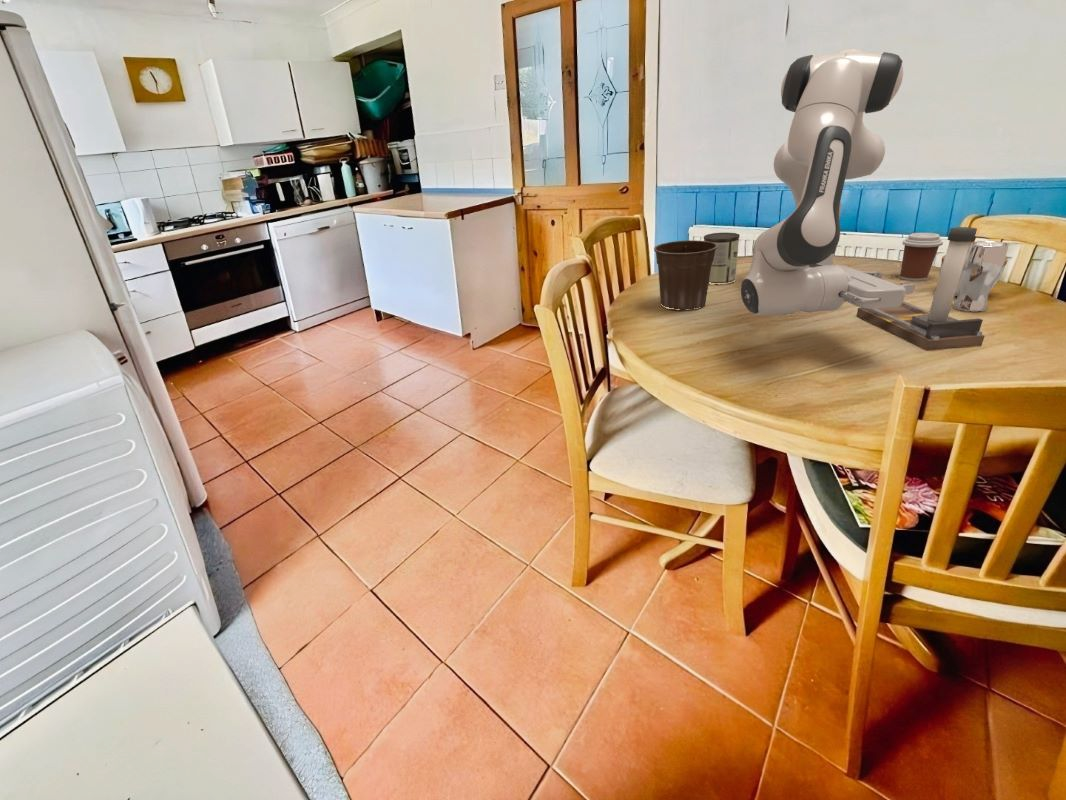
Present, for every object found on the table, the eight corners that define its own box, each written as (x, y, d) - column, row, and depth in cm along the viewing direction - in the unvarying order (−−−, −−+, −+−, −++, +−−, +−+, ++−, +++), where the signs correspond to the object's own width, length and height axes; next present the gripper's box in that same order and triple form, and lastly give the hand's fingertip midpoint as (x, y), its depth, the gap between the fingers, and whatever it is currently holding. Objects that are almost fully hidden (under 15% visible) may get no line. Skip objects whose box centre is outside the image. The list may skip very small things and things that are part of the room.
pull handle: (910, 324, 108) (936, 228, 99) (938, 321, 108) (966, 225, 99) (931, 333, 102) (960, 232, 93) (960, 330, 102) (992, 229, 93)
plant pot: (689, 317, 131) (693, 254, 123) (640, 307, 142) (641, 249, 135) (724, 302, 139) (730, 242, 132) (676, 293, 151) (678, 238, 143)
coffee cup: (891, 280, 144) (901, 237, 139) (896, 273, 150) (907, 231, 145) (930, 283, 139) (943, 238, 133) (934, 275, 145) (946, 232, 139)
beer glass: (994, 312, 116) (1017, 245, 109) (959, 313, 117) (980, 247, 110) (977, 303, 122) (998, 239, 115) (944, 304, 123) (963, 241, 116)
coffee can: (701, 277, 165) (704, 232, 159) (735, 277, 162) (739, 231, 155) (700, 285, 157) (703, 238, 150) (735, 285, 153) (740, 237, 147)
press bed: (856, 315, 121) (860, 295, 119) (901, 311, 121) (906, 291, 119) (927, 350, 101) (934, 326, 98) (981, 345, 101) (989, 321, 98)
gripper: (862, 286, 90) (939, 278, 90) (802, 262, 108) (866, 256, 108) (854, 319, 93) (929, 312, 92) (798, 291, 111) (860, 285, 111)
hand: (895, 281), depth 100 cm, fingers open, 8 cm apart
